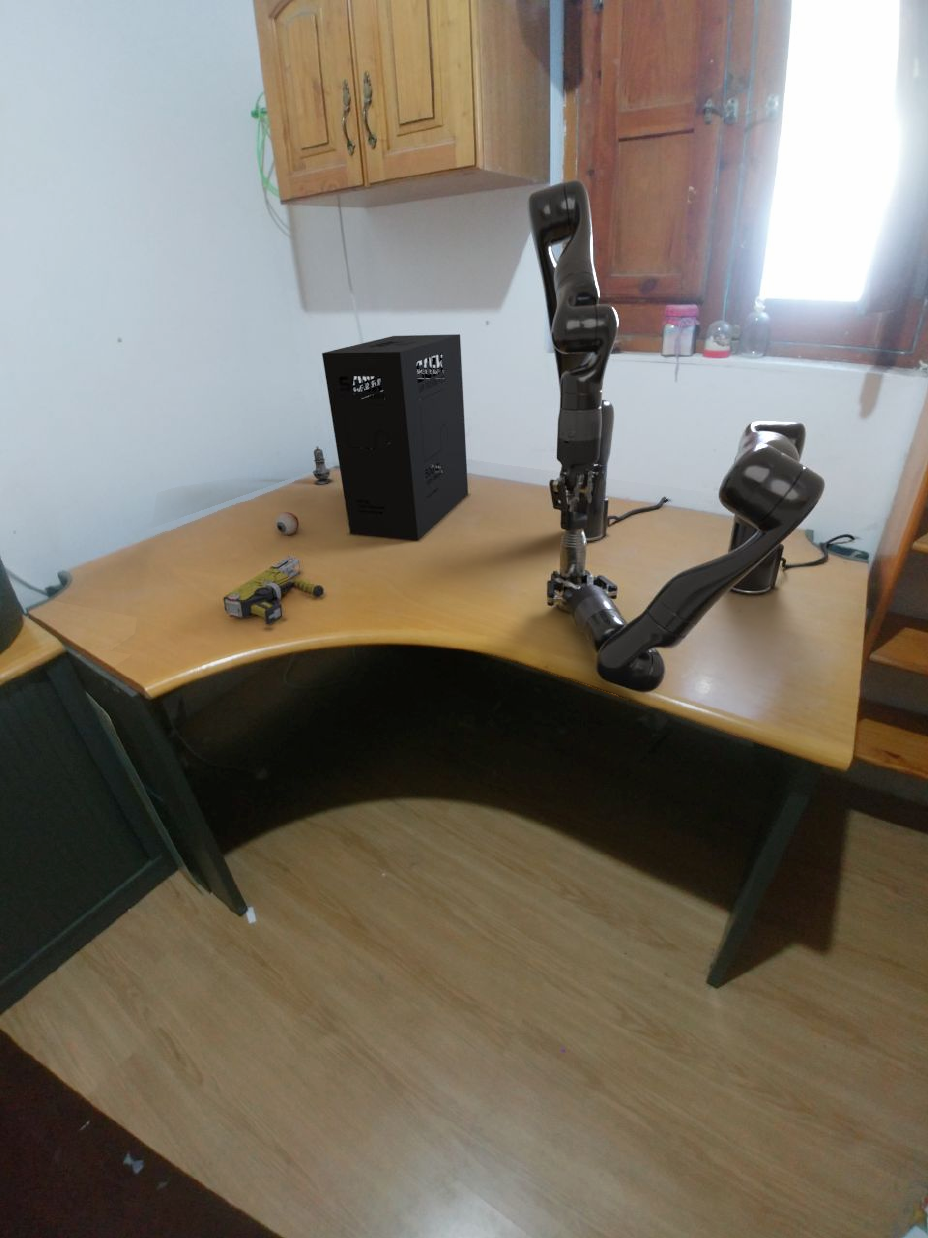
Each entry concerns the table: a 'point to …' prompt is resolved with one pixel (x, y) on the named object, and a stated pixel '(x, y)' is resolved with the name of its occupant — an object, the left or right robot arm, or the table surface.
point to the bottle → (572, 558)
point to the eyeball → (287, 523)
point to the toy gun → (267, 592)
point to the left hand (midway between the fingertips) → (574, 524)
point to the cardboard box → (399, 432)
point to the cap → (579, 520)
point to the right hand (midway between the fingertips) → (567, 573)
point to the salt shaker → (320, 468)
